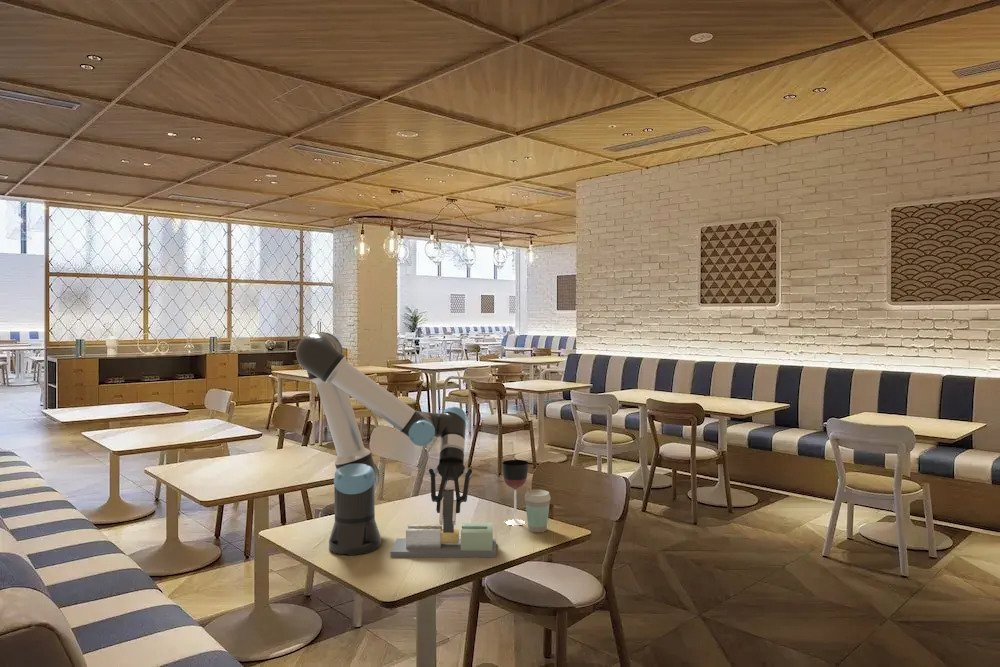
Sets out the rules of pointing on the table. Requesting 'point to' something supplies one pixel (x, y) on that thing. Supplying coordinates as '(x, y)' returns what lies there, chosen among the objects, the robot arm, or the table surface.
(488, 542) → the socket block
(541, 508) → the coffee cup
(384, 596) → the table surface
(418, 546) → the steel sleeve
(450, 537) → the sliding bolt with handle
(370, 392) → the robot arm
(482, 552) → the base board
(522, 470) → the wineglass
